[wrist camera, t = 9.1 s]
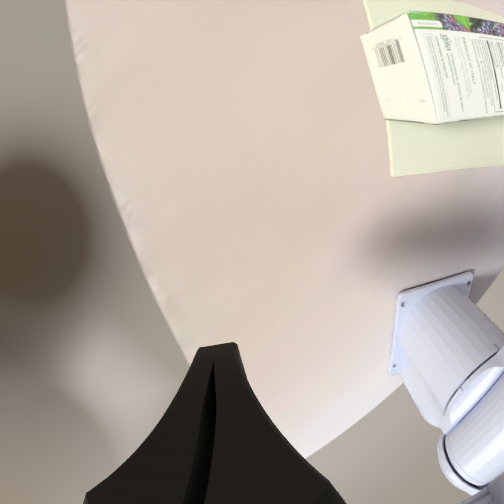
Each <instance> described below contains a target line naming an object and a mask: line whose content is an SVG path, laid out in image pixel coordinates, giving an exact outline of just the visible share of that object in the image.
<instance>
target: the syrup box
mask: <svg viewBox="0 0 504 504" xmlns="http://www.w3.org/2000/svg"><path fill="white" fill-rule="evenodd" d="M360 38H361V41H362V44H363V47H364V51H365V54H366V58H367V61H368V65H369V68H370V72H371V75H372V79H373V82H374V86H375V90H376V93H377V97H378V100H379V103H380V107H381V110H382V113H383V116H384V119H385V120H390V121H404V122H414V123H423V124H431V125H439V124H445V123H451V122H460V121H467V120H475V119H483V118H491V117H500V116H504V23H500V22H495V21H490V20H485V19H479V18H473V17H467V16H461V15H452V14H444V13H434V12H421V11H406V12H405V13H402V14H400V15H398V16H396V17H394V18H392V19H390V20H388V21H386V22H384V23H382V24H380V25H378V26H377V27H375V28H373V29H372V30H370V31H369V32H367V33H366V34H363V35H361V37H360Z"/></svg>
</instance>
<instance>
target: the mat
mask: <svg viewBox="0 0 504 504" xmlns="http://www.w3.org/2000/svg"><path fill="white" fill-rule="evenodd" d="M363 2H364V5H365V9H366V13H367V17H368V21H369V25H370V30H372V29H373V28H375V27H377V26H378V25H380V24H382V23H384V22H386V21H388V20H390V19H392V18H394V17H396V16H398V15H400V14H402V13H405V12H406V11H421V12H434V13H444V14H452V15H461V16H467V17H473V18H479V19H485V20H490V21H495V22H500V23H504V17H501V16H499V15H496V14H493V13H491V12H488V11H485V10H482V9H479V8H476V7H473V6H470V5H467V4H463V3H460V2H456V1H453V0H363ZM386 125H387V134H388V145H389V157H390V171H391V176H393V177H397V176H405V175H413V174H421V173H429V172H438V171H446V170H456V169H465V168H476V167H487V166H498V165H504V116H500V117H491V118H483V119H475V120H467V121H460V122H451V123H445V124H439V125H431V124H423V123H414V122H404V121H390V120H386Z"/></svg>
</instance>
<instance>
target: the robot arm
mask: <svg viewBox="0 0 504 504" xmlns="http://www.w3.org/2000/svg"><path fill="white" fill-rule="evenodd" d="M472 282H473V273H471V272H470V271H469V272H466V273H462V274H459V275H456V276H453V277H450V278H447V279H443V280H440V281H437V282H434V283H430V284H427V285H423V286H420V287H417V288H413V289H410V290H406V291H403V292H401V293H399V295H398V296H397V304H396V314H395V324H394V333H393V341H392V348H391V355H390V362H389V368H388V374H389V375H390V376H394V375H397V374H399V375H400V377H401V379H402V380H403V382H404V384H405V386H406V387H407V389H408V391H409V393H410V395H411V396H412V398H413V400H414V402H415V404H416V405H417V407H418V409H419V411H420V413H421V415H422V416H423V417H424V419H425V420H426V421H428V422H429V423H430V424H432V425H434V426H436V427H438V428H441V429H442V431H443V434H442V435H441V436H440V438H439V440H438V445H437V451H438V459H439V463H440V466H441V469H442V471H443V473H444V474H445V476H446V477H447V479H448V480H449V481H450V482H451V483H452V484H453V485H455V486H456V487H457V488H459V489H461V490H464V491H466V492H467V493H469V494H470V495H472V496H471V497H469V498H467V499H465V500H464V501H462V502H461V503H458V504H504V333H503V332H502V331H501V330H500V329H499V328H498V327H497V326H496V325H495V324H494V323H493V322H492V321H491V320H490V319H489V318H488V317H487V316H486V315H485V314H484V313H483V312H482V311H481V310H480V309H479V308H478V307H477V306H476V305H475V304H474V303H473V302H472V301H471V300H470V299H469V297H470V292H471V287H472ZM403 302H404V303H403ZM402 303H403V304H402ZM83 504H346V503H345V501H344V500H343V498H342V497H341V496H340V494H339V493H338V492H337V491H336V489H335V488H334V487H333V486H332V484H331V483H330V481H329V480H328V479H326V478H325V477H324V476H323V475H322V474H321V473H319V472H318V471H317V470H316V469H315V468H314V467H313V466H312V465H310V464H309V463H308V462H307V461H306V460H305V459H304V458H303V457H302V456H301V455H300V454H299V453H298V452H297V451H296V449H295V448H294V447H293V446H292V445H291V444H290V443H289V442H288V440H287V439H286V438H285V437H284V436H283V435H282V434H281V432H280V431H279V430H278V428H277V427H276V426H275V425H274V423H273V422H272V420H271V419H270V418H269V416H268V415H267V413H266V412H265V410H264V409H263V407H262V406H261V404H260V402H259V401H258V399H257V397H256V396H255V394H254V392H253V390H252V388H251V387H250V384H249V382H248V380H247V377H246V373H245V370H244V367H243V363H242V360H241V356H240V353H239V349H238V346H237V344H236V343H234V342H231V343H225V344H219V345H213V346H206V347H200V348H199V349H198V350H197V352H196V355H195V357H194V359H193V362H192V364H191V366H190V368H189V370H188V372H187V374H186V376H185V378H184V380H183V382H182V384H181V386H180V388H179V390H178V392H177V394H176V395H175V397H174V399H173V400H172V402H171V404H170V405H169V407H168V409H167V410H166V412H165V413H164V415H163V417H162V418H161V419H160V421H159V423H158V424H157V425H156V427H155V428H154V429H153V431H152V432H151V433H150V435H149V436H148V437H147V438H146V439H145V441H144V442H143V443H142V444H141V445H140V447H139V448H138V449H137V450H136V451H135V452H134V453H133V454H132V455H131V456H130V457H129V458H128V459H127V460H126V461H125V462H124V463H123V464H122V465H121V466H120V467H119V468H118V469H117V470H116V471H114V472H113V473H112V474H111V475H110V476H109V477H108V478H106V479H105V480H103V481H102V482H101V483H99V484H98V485H97V486H95V487H94V488H93V489H91V490H90V491H89V492H87V493H86V496H85V499H84V503H83Z"/></svg>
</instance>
